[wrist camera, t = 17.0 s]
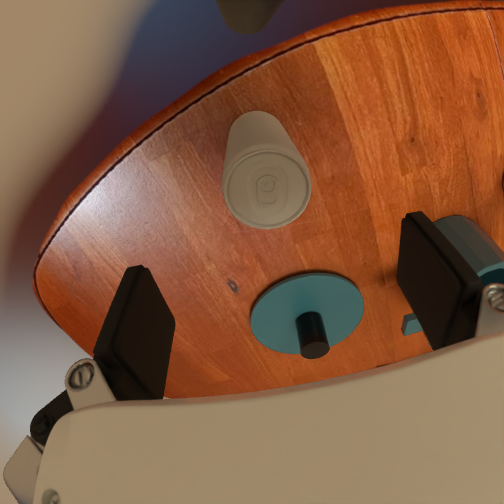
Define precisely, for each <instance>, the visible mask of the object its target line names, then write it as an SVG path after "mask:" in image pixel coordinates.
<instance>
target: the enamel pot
mask: <svg viewBox="0 0 504 504" xmlns="http://www.w3.org/2000/svg"><path fill="white" fill-rule="evenodd" d="M433 224H434V225H435V226H436V227H437V228H438V229H439V230H440V231H441V232H442V233H443V235H444V236H445V237H446V238H447V239H448V240H449V241H450V242H451V244H452V245H453V246H454V247H455V248H456V249H457V250H458V252H459V253H460V254H461V255H462V256H463V258H464V259H465V260H466V261H467V262H468V264H469V265H470V266H471V267H472V268H473V270H474V271H475V272H476V273H477V275H478V276H479V277H480V279H481V280H482V281H481V283H482V284H483V285H484V287H486V286H487V285H489V284H492V283H499V284H503V285H504V252H503V251H502V250H501V249H500V247H499V246H498V245H497V244H496V243H495V242H494V241H493V240H492V239H491V238H490V237H489V236H488V235H487V234H486V233H485V232H484V231H483V230H482V229H481V228H480V227H479V226H478V225H477V224H476V223H475V222H474V221H472V220H471V219H469V218H467V217H464V216H457V215H455V216H449V217H445V218H442V219H440V220H438V221H436V222H434V223H433ZM403 294H404V293H403ZM404 296H405V295H404ZM405 298H406V297H405ZM409 305H410V304H409ZM410 307H411V306H410ZM411 309H412V308H411ZM412 311H413V310H412ZM401 331H402V333H403V335H404V336H406V335H409V334H413V333H416V332H419V331H423V329H422V327H421V325H420V323H419V321H418V319H417V318H416V316H415V314H414V312H413V313H411V314H408V315H404V319H403V323H402V327H401ZM423 333H424V331H423ZM424 335H425V333H424ZM425 337H426V335H425ZM426 339H427V337H426ZM427 341H428V339H427ZM428 343H429V341H428ZM429 345H430V343H429ZM430 346H431V345H430Z"/></svg>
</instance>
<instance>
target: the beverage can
mask: <svg viewBox="0 0 504 504" xmlns="http://www.w3.org/2000/svg"><path fill="white" fill-rule="evenodd" d="M222 192H223V195H224V199H225V202H226V205H227V207H228V208H229V210H230V212H231V213H232V215H233V216H235V217H236V218H237V219H238V220H239V221H240V222H242V223H244V224H246V225H248V226H250V227H254V228H258V229H274V228H279V227H282V226H284V225H287V224H289V223H291V222H292V221H294V220H295V219H296V218H298V217H299V216H300V215H301V213H302V212H303V211H304V210H305V208H306V206H307V204H308V202H309V200H310V195H311V179H310V173H309V170H308V168H307V166H306V163H305V161H304V160H303V158H302V156H301V155H300V153H299V151H298V150H297V148H296V146H295V145H294V143H293V142H292V140H291V138H290V137H289V135H288V134H287V132H286V130H285V129H284V127H283V126H282V124H281V123H280V122H279V120H278V119H277V118H276V117H274V116H273V115H271V114H270V113H267V112H263V111H251V112H247V113H245V114H243V115H241V116H239V117H238V118H237V119H236V120H235V121H234V123H233V124H232V126H231V128H230V131H229V135H228V141H227V148H226V154H225V161H224V168H223V175H222Z"/></svg>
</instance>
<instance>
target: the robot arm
mask: <svg viewBox="0 0 504 504" xmlns="http://www.w3.org/2000/svg"><path fill="white" fill-rule="evenodd" d="M481 281H482V280H481V279H480V277H479V276H478V275H477V273H476V272H475V271H474V270H473V268H472V267H471V266H470V265H469V264H468V262H467V261H466V260H465V259H464V258H463V256H462V255H461V254H460V253H459V252H458V250H457V249H456V248H455V247H454V246H453V245H452V244H451V242H450V241H449V240H448V239H447V238H446V237H445V236H444V235H443V233H442V232H441V231H440V230H439V229H438V228H437V227H436V226H435V225H434V224H433V223H432V222H431V221H430V219H429V218H428V217H427V216H426V215H425V214H424V213H423V212H421V211H417V212H412V213H407V214H406V216H405V218H403V219H402V222H401V236H400V248H399V259H398V268H397V282H398V284H399V286H400V288H401V290H402V292H403V293H404V295H405V297H406V299H407V301H408V303H409V304H410V306H411V308H412V310H413V312H414V314H415V316H416V318H417V319H418V321H419V323H420V325H421V327H422V329H423V331H424V333H425V335H426V337H427V339H428V341H429V343H430V345H431V347H432V349H433V350H434V351H432V352H429V353H426V354H422V355H419V356H416V357H413V358H409V359H406V360H403V361H399V362H396V363H392V364H389V365H385V366H381V367H378V368H374V369H370V370H366V371H362V372H358V373H354V374H349V375H345V376H340V377H336V378H331V379H327V380H322V381H317V382H311V383H306V384H301V385H295V386H289V387H283V388H276V389H270V390H263V391H255V392H247V393H239V394H230V395H220V396H209V397H196V398H179V399H163V396H164V390H165V383H166V377H167V371H168V365H169V359H170V353H171V347H172V342H173V336H174V331H175V319H174V317H173V315H172V313H171V311H170V309H169V307H168V305H167V303H166V302H165V300H164V298H163V296H162V294H161V292H160V290H159V288H158V286H157V284H156V282H155V280H154V278H153V276H152V274H151V272H150V270H149V269H148V268H144V266H143V265H138V266H133V267H128V268H127V269H126V271H125V273H124V275H123V278H122V280H121V282H120V285H119V287H118V289H117V292H116V294H115V296H114V299H113V301H112V304H111V306H110V309H109V311H108V313H107V316H106V319H105V321H104V324H103V326H102V329H101V331H100V334H99V337H98V339H97V342H96V345H95V348H94V350H93V353H94V354H95V355H94V358H93V360H92V359H89V358H85V359H81V360H79V361H77V362H75V363H74V364H73V365H72V366H71V367H70V369H69V370H68V372H67V374H66V376H65V387H66V390H65V391H64V392H62V393H61V394H60V395H58V396H57V397H56V398H55V399H53V400H52V401H51V402H50V403H49V404H47V405H46V406H45V407H44V408H42V409H41V410H40V411H39V412H38V413H37V414H36V415H35V416H34V418H33V419H32V422H31V425H30V432H31V437H29V436H28V435H27V436H26V437H25V439H24V440H23V441H22V443H21V444H20V445H19V447H18V448H17V450H16V451H15V452H14V454H13V456H12V457H11V458H10V460H9V461H8V462H7V464H6V466H5V468H4V472H3V477H4V481H5V483H6V485H7V487H8V488H9V490H10V491H11V493H12V494H13V496H14V497H15V499H16V500H17V502H18V503H19V504H504V285H503V284H499V283H492V284H489V285H487V286H486V287H484V285H483V284H482V283H481Z"/></svg>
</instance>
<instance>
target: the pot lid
mask: <svg viewBox="0 0 504 504" xmlns="http://www.w3.org/2000/svg"><path fill="white" fill-rule="evenodd" d="M363 312H364V301H363V298H362V295H361V293H360V291H359V290H358V288H357V287H356V286H355V285H354V284H353V283H352V282H350V281H349V280H347V279H345V278H343V277H341V276H338V275H335V274H329V273H308V274H302V275H297V276H294V277H291V278H288V279H285V280H283V281H281V282H279V283H277V284H275V285H274V286H272V287H271V288H269V289H268V290H267V291H265V292H264V293H263V294H262V295H261V296H260V298H259V299H258V300H257V301H256V303H255V305H254V307H253V309H252V312H251V317H250V324H251V329H252V332H253V334H254V336H255V337H256V339H257V340H258V341H259V342H260V343H261V344H263V345H264V346H266V347H268V348H269V349H272V350H274V351H278V352H282V353H288V354H301V355H302V356H303V357H304V358H307V359H316V358H320V357H322V356H324V355H325V354H327V353H328V351H329V349H330V347H331V346H333V345H335V344H337V343H339V342H340V341H342V340H343V339H345V338H346V337H347V336H349V335H350V334H351V333H352V332H353V331H354V329H355V328H356V327H357V326H358V324H359V322H360V320H361V319H362V316H363Z"/></svg>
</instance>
